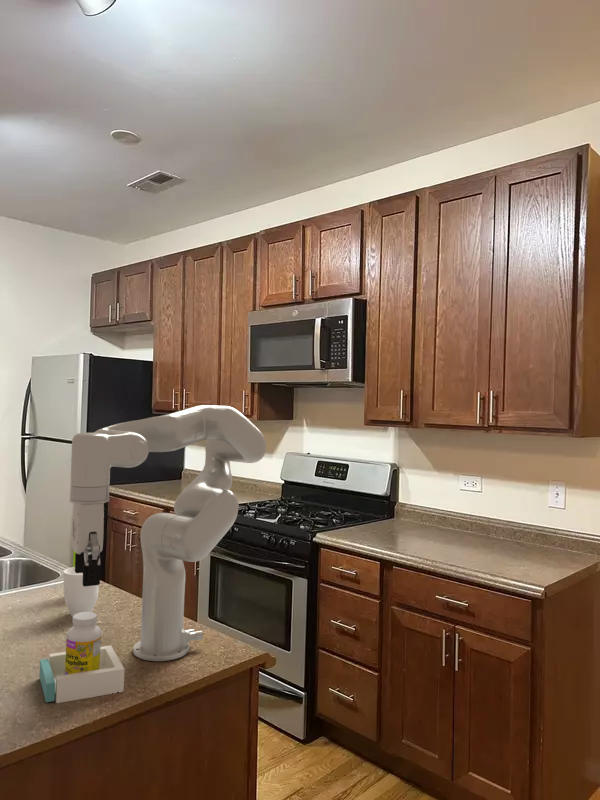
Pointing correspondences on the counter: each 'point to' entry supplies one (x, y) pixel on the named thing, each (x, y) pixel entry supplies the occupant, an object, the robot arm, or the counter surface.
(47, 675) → the gate
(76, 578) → the mug
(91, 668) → the supplement bottle
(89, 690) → the housing
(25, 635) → the counter surface
